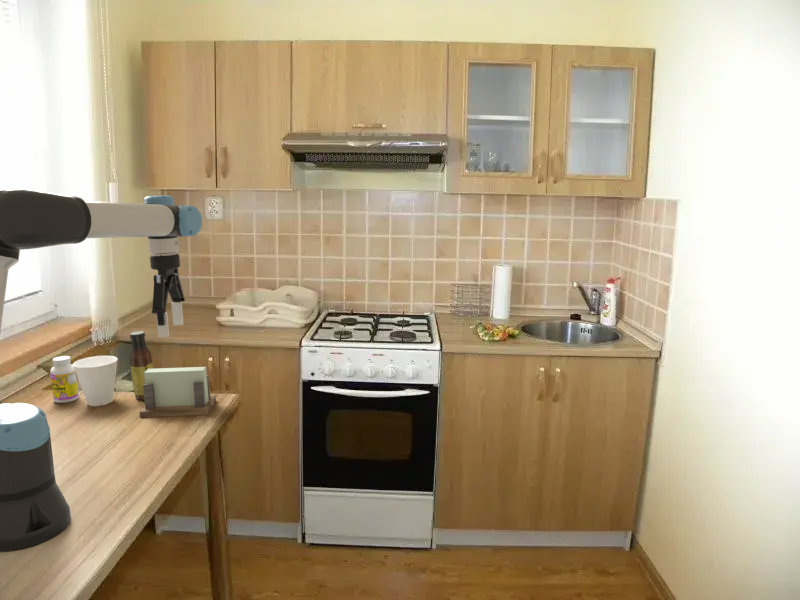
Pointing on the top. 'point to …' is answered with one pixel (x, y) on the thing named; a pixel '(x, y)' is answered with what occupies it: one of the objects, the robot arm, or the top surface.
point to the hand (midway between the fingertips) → (171, 330)
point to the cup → (97, 378)
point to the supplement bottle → (63, 380)
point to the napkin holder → (196, 409)
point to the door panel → (176, 385)
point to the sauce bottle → (139, 362)
